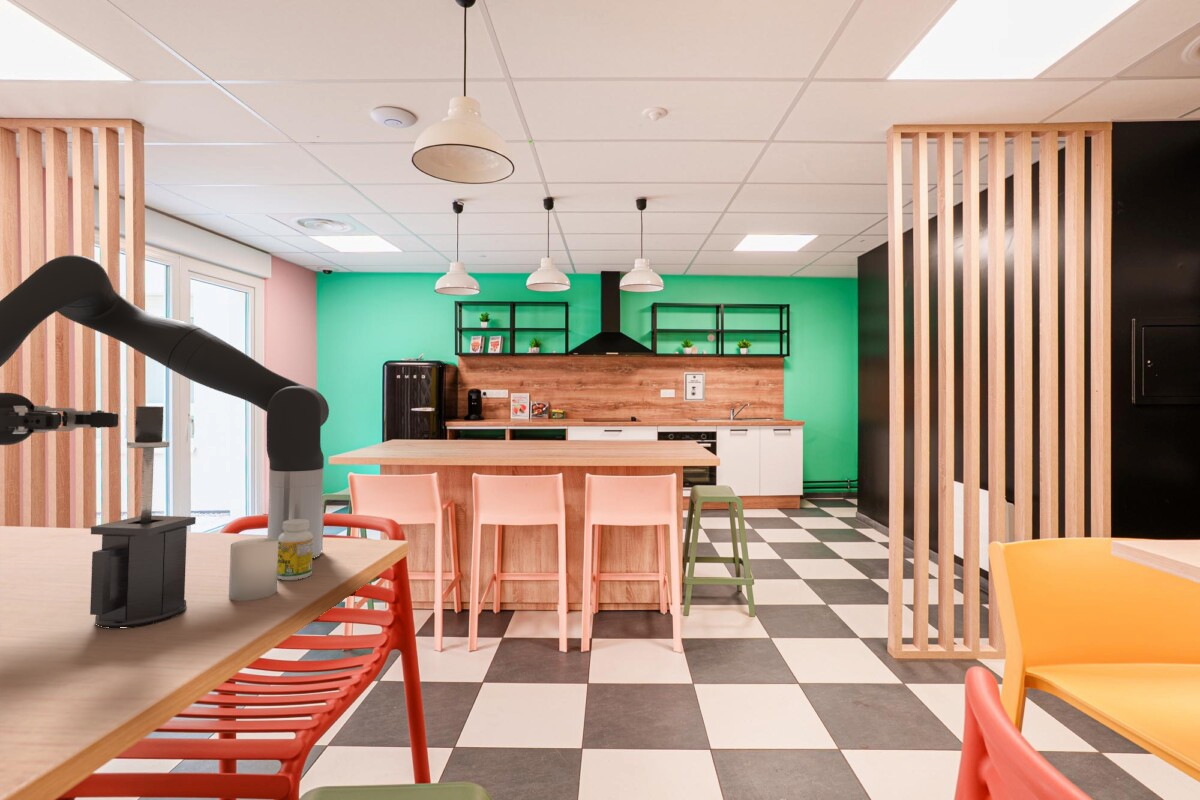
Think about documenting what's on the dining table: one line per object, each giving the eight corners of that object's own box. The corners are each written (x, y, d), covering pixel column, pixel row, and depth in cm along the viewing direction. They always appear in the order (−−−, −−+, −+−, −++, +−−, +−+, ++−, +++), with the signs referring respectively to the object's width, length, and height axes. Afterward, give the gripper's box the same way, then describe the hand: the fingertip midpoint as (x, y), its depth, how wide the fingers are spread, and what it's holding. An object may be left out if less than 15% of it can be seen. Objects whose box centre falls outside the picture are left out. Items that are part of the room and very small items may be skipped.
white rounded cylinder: (247, 586, 90) (249, 537, 90) (285, 587, 89) (287, 538, 90) (218, 599, 83) (220, 547, 84) (259, 601, 83) (260, 548, 83)
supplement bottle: (318, 575, 96) (320, 520, 96) (288, 583, 92) (290, 525, 92) (300, 570, 99) (301, 516, 99) (269, 577, 94) (271, 521, 94)
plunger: (143, 551, 79) (148, 406, 80) (173, 552, 79) (178, 406, 80) (113, 559, 75) (119, 406, 75) (145, 561, 75) (151, 406, 75)
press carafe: (140, 600, 82) (143, 513, 82) (203, 603, 82) (206, 516, 82) (59, 632, 70) (63, 531, 71) (131, 636, 70) (135, 534, 70)
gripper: (-82, 390, 72) (34, 392, 71) (36, 393, 86) (134, 395, 85) (-85, 448, 72) (32, 451, 71) (34, 441, 86) (132, 443, 85)
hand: (88, 420), depth 78 cm, fingers open, 8 cm apart
